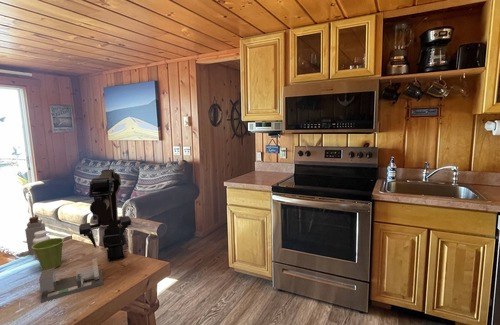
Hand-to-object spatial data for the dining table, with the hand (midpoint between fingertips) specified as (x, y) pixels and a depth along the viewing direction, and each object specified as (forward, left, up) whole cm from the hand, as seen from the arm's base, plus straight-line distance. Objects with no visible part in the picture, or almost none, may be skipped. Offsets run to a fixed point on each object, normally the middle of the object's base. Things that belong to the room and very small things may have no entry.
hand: (108, 244), depth 117 cm
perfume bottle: (+29, -48, -13) cm, 58 cm away
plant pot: (+22, -24, -13) cm, 35 cm away
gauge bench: (+13, +1, -13) cm, 19 cm away
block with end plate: (+8, +1, -12) cm, 14 cm away
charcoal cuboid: (+11, +6, -11) cm, 17 cm away
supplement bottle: (+26, -38, -13) cm, 48 cm away
